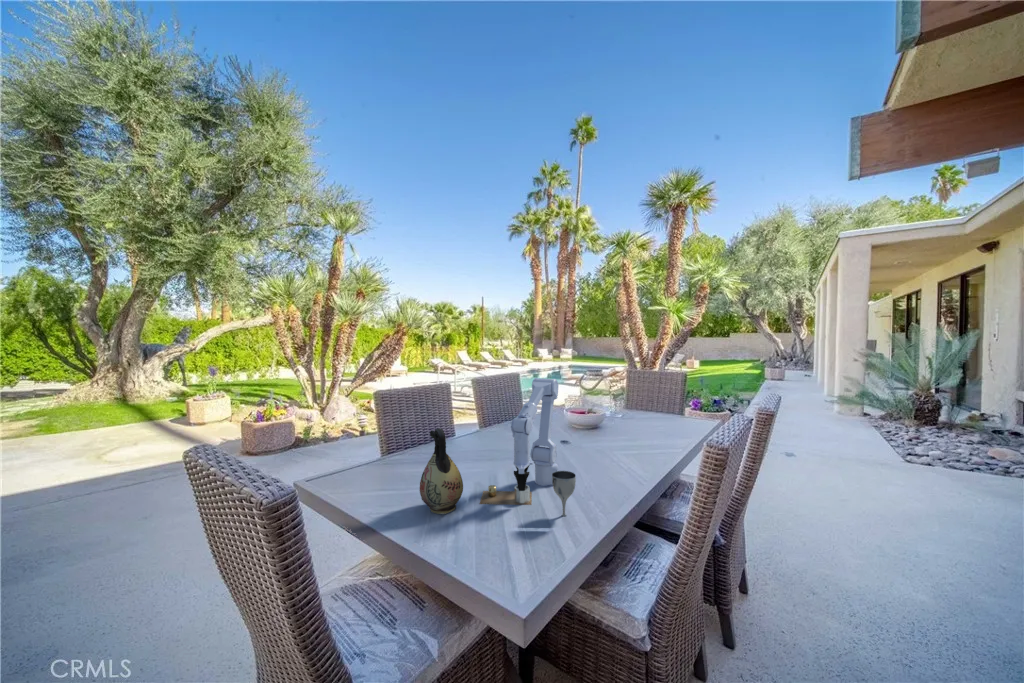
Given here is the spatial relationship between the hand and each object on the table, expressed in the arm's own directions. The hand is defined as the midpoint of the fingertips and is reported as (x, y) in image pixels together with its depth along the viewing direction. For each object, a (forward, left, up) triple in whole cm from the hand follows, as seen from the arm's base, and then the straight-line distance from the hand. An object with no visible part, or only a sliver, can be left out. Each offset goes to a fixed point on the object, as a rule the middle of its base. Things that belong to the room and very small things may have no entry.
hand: (522, 486), depth 148 cm
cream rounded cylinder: (+11, -4, -6) cm, 14 cm away
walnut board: (+6, -3, -6) cm, 9 cm away
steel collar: (0, 0, -5) cm, 5 cm away
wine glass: (-15, +11, -7) cm, 20 cm away
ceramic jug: (+28, +6, -7) cm, 30 cm away
